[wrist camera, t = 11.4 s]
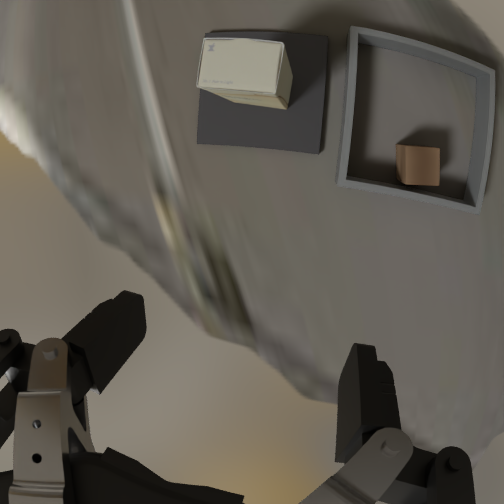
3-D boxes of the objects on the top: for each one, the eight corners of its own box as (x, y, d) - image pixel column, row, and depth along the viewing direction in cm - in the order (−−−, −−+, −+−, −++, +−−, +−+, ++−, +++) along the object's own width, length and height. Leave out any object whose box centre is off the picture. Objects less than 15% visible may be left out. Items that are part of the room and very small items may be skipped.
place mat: (327, 38, 26) (328, 36, 26) (318, 153, 32) (318, 154, 31) (207, 35, 29) (205, 33, 28) (199, 143, 34) (196, 143, 33)
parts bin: (481, 73, 23) (494, 70, 20) (466, 207, 30) (479, 215, 27) (347, 35, 26) (350, 25, 23) (335, 180, 33) (337, 186, 30)
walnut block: (426, 146, 29) (439, 148, 25) (426, 179, 30) (439, 185, 27) (395, 144, 30) (405, 145, 26) (396, 178, 31) (405, 184, 27)
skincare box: (233, 102, 31) (191, 89, 20) (239, 66, 29) (200, 36, 18) (289, 110, 30) (275, 97, 19) (295, 73, 28) (284, 41, 17)
